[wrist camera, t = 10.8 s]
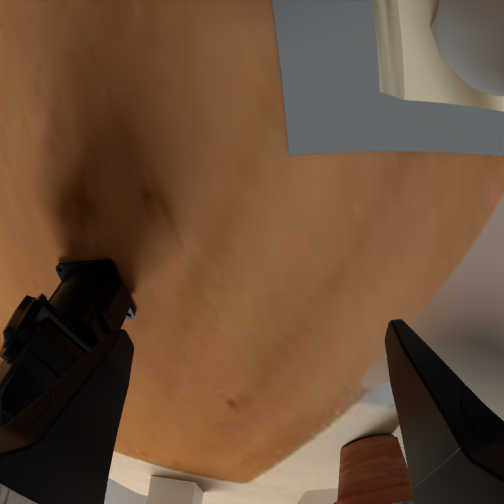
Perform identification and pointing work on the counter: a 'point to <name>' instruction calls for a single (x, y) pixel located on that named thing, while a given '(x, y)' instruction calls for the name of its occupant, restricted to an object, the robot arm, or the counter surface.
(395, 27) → the beech block
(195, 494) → the milk
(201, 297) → the counter surface
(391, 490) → the potted plant
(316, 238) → the counter surface
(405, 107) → the mat
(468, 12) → the salt shaker
